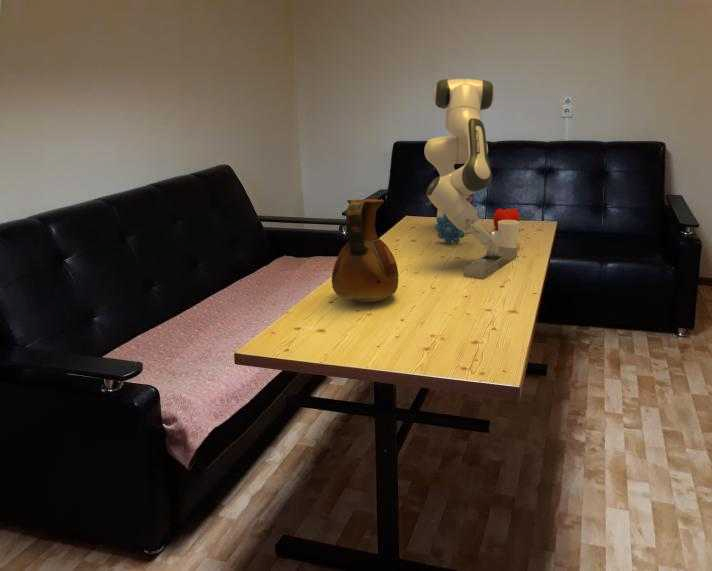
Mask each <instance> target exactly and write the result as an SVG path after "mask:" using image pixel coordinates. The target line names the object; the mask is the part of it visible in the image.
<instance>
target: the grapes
mask: <svg viewBox="0 0 712 571" xmlns="http://www.w3.org/2000/svg"><path fill="white" fill-rule="evenodd" d="M436 223H438V224H436ZM436 223H435V224H434V225H433V229H434V228H435V229H434V230H435V232H437V237H438V238H439V239H440V240H443V239H444V242H445V243H446V244H448V245H450V244H451V243H452V242H453V243H454V244H458V243H459V242H460V241H461V240H460V238H461V239H462V238H464V237H465V233H464V232H463V231H462V230H459V229H458V228H457V227H456V226H455V225H454V224H453V223H452V222H450V221H449V219H448V217H447V216H446V215H445V214H444V215H443V218H442V217H437V216H436Z"/></svg>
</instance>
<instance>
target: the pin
mask: <svg viewBox="0 0 712 571" xmlns="http://www.w3.org/2000/svg"><path fill="white" fill-rule="evenodd" d="M486 231H487V232H488V234H489V235H490V236H491V238H492V239H491V240H492V241H493V243H494V244H495V245H496V246H497V248H496V249H495V250H493V249H492V248H491V247H489V246H488V245H487V244H486V245H485V254H486V259H489V260H498V246H499V241H498V239H499V232H498V230H486Z"/></svg>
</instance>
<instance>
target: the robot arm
mask: <svg viewBox="0 0 712 571" xmlns="http://www.w3.org/2000/svg"><path fill="white" fill-rule="evenodd" d="M432 92H433V93H432V94H433V95H432V96H433V100H434V101H433V102H434V105H435V106H436V107H437V108H439V109H441V110H442V109H443V110H445V118H444V126H445V129H446V130H447V131H448V133H450V135H452V136H438V137H433V138H430V139H429V140H427V142H426V144H425V146H424V152H423V153H424V156H425V159H426V161H428V162H429V163H430V164H431V165H433V166H434V168H435V169H436V171H437V172H438V174H439V176H437V177H435V178H434V179H433V180H432V181H431V183H430V184H429V185H428V187H427V189H426V196H427V198H428V200H429V201H430V202H431V203H432V205H433V206H434V207H435V208H436V209H437V213H436V218H437V217H442V218H443V215H444V214H445V215H446V216H447V217H448V219H449V221H450V222H452V223H453V224H454V225H455V226H456V227H457V228H458V229H459V230H462V231H463V232H464V234H472V236H473V237H475V238H476V240H478V242H480V243H481V244H482V245H483V246H486V244H487V245H488V246H489V247H491V248H492V249H493V250H495V249H496V248H497V246H496V245H495V244H494V243H493V241H492V240H491V239H492V238H491V236H490V235H489V234H488V232H487V231H488V230H487V229H486V228H485V227H484V226H483V224H482V223H481V222H480V220H479V216H478V214H479V211H478V210H477V209H476V208H475V207H474V206H473V205H472V204H471V203H470V202H472V200H473V199H472V198H473V197H472V196H471V195H472V194H475V193H477V192H479V191H481V190H485V189H486V188H487V187H489V186H490V184H491V182H492V176H493V174H492V170H491V167H490V163H489V158H488V153H489V147H488V142H487V137H486V129H485V126H484V123H483V121H481V111H483V110H488V109H490V108H491V107H492V104H493V102H494V100H495V97H496V96H495V89H494V85H493V83H492V82H491V81H488V80H485V79H483V80H480V79H474V78H473V79H472V78H455V79H448V78H446V79H445V78H443V79H440V80H439V81H438V82H436V85H435V87H434V89H433V91H432ZM457 164H458V165H459V164H460V165H462V166H460V167H459V168H458V169H455V165H457ZM463 164H464V165H463ZM435 224H438V223H437V222H436V223H435ZM433 229H434V230H435V228H434V227H433Z"/></svg>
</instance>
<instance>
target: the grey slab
mask: <svg viewBox="0 0 712 571" xmlns="http://www.w3.org/2000/svg"><path fill="white" fill-rule="evenodd" d="M517 257H518V248H508V247H498V260H489V259H486V253H485V254H484V255H481V257H479V258H477V259H475V260H474V261H472V262H471V263H469V264H467V265H466V266H464V267H463V277H466V278H472V277H474V278H475V279H481V280H485V279H486V278H487V276H488V277H489V276H491V275H492V274H493V272H494V273H495V272H497V271H498V270H499V269H501V268H503V267H504V266H505V265H507V264H509V263H510V262H512V261H513V260H515V258H517ZM496 270H497V271H496ZM490 274H491V275H490ZM474 278H473V279H474Z"/></svg>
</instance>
